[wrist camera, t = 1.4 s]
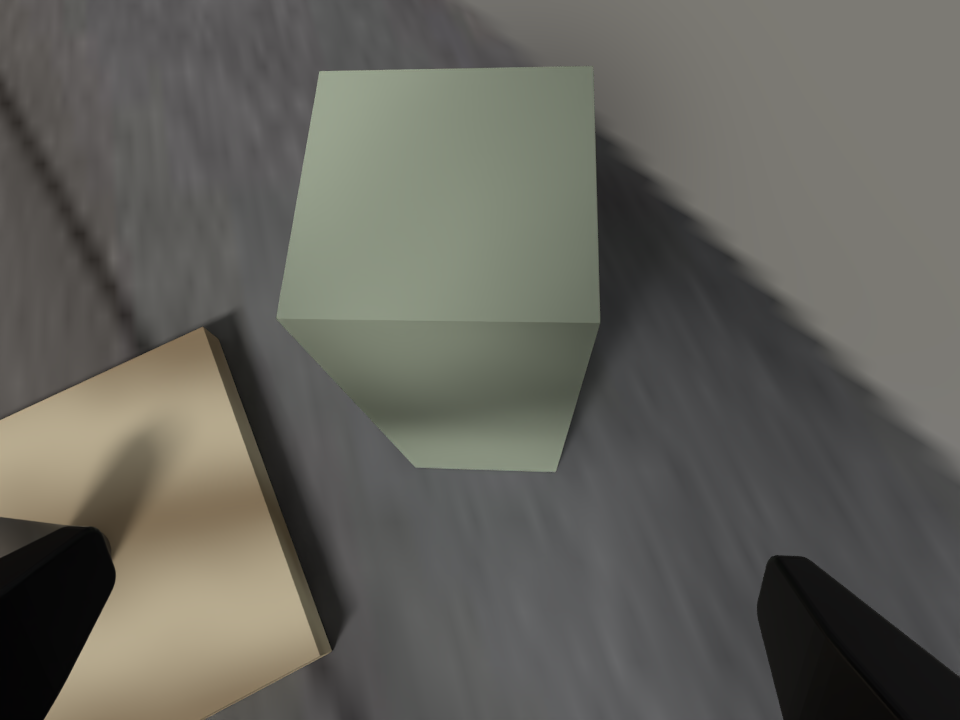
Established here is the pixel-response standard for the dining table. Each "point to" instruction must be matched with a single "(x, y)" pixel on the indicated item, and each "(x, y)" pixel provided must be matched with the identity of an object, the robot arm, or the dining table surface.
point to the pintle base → (164, 535)
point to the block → (451, 256)
